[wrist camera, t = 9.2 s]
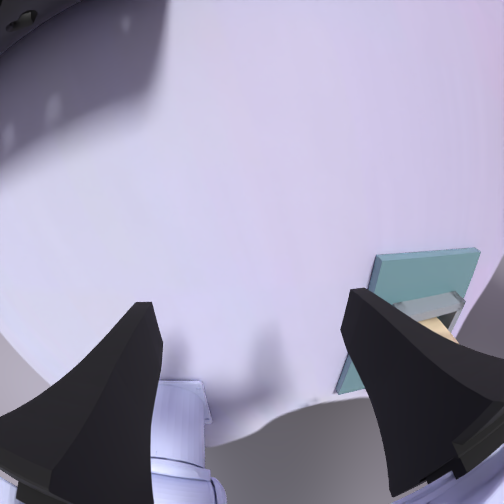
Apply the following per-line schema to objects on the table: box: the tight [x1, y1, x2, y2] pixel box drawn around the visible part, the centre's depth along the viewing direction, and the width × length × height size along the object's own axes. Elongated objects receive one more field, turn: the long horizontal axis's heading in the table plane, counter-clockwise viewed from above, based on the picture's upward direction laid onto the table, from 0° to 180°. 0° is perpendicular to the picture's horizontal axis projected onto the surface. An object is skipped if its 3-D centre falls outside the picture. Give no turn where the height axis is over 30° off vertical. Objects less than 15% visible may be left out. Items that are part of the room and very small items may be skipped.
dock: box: [336, 248, 481, 395], centre depth 24 cm, size 18×14×3 cm
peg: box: [418, 317, 459, 344], centre depth 21 cm, size 4×4×6 cm
